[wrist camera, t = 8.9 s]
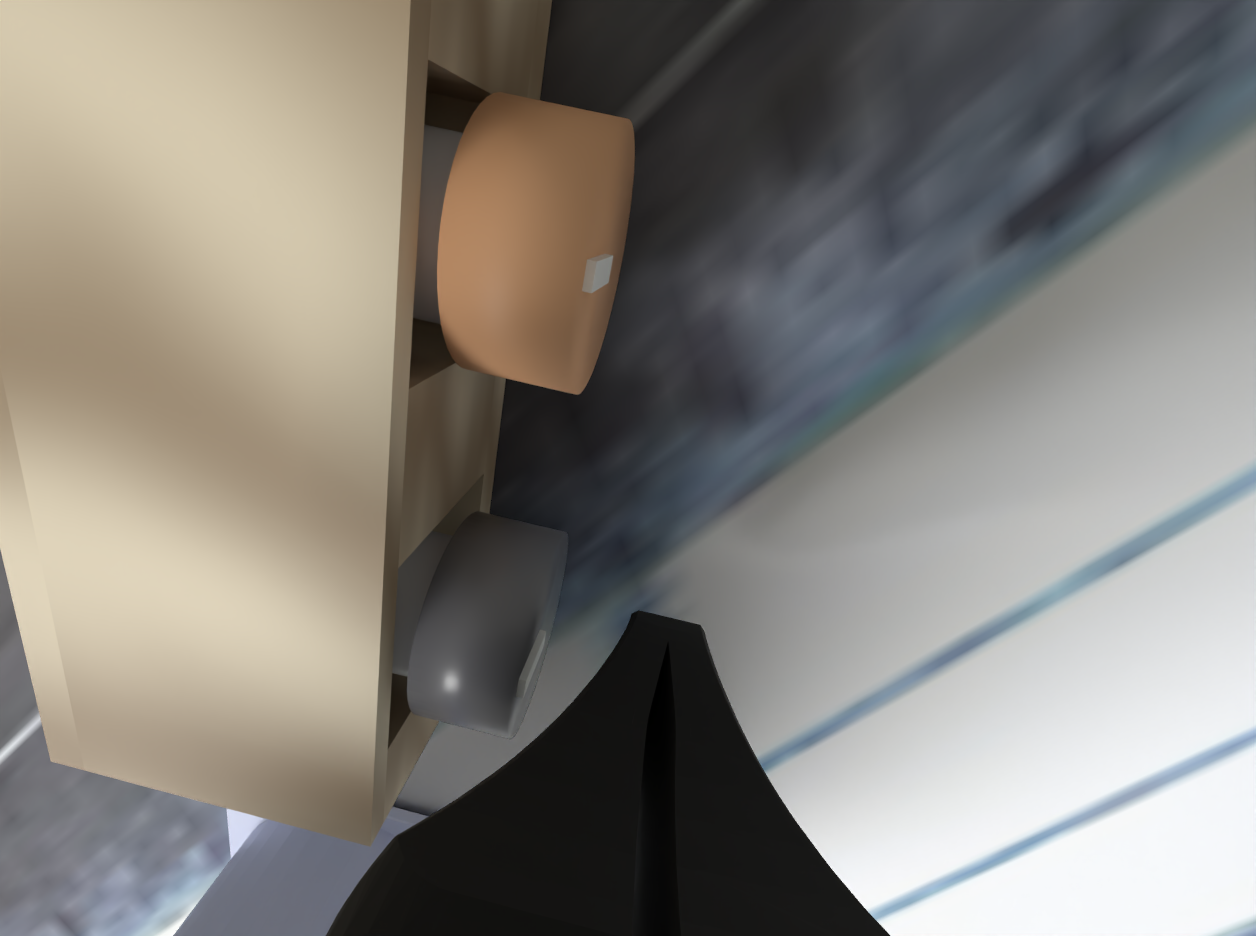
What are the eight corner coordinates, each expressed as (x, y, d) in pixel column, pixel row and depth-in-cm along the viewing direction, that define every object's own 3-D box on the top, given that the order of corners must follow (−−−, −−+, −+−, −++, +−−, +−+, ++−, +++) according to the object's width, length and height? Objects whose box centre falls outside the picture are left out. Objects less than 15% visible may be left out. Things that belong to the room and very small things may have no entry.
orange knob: (652, 138, 11) (618, 96, 7) (609, 365, 12) (563, 430, 8) (265, 56, 11) (35, -25, 7) (272, 289, 12) (85, 319, 9)
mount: (471, 662, 17) (370, 846, 12) (242, 604, 17) (50, 761, 12) (553, -9, 11) (419, -197, 6) (200, -81, 11) (-205, -315, 6)
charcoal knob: (584, 500, 13) (533, 609, 10) (556, 647, 15) (504, 789, 11) (276, 427, 14) (114, 506, 10) (281, 579, 15) (142, 695, 11)
